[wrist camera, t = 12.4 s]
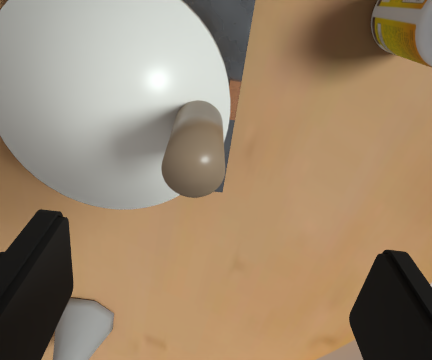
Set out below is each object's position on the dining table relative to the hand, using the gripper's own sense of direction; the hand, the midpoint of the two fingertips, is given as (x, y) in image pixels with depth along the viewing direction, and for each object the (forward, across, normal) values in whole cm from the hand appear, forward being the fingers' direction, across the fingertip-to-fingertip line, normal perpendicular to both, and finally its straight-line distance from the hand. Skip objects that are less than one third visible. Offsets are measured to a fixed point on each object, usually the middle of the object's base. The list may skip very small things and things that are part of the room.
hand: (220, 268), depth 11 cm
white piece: (+17, +7, +1) cm, 18 cm away
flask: (+22, +12, +31) cm, 40 cm away
